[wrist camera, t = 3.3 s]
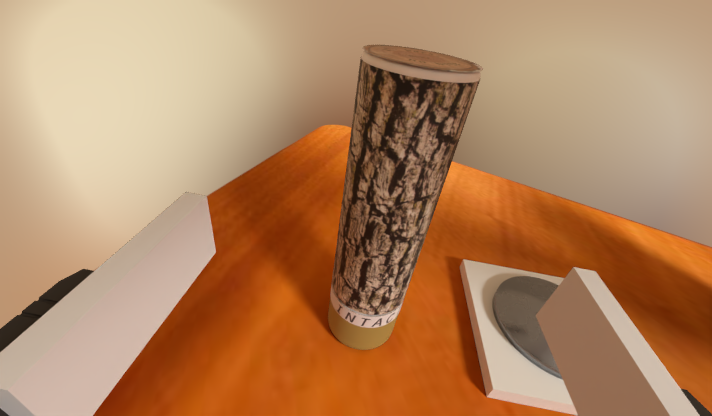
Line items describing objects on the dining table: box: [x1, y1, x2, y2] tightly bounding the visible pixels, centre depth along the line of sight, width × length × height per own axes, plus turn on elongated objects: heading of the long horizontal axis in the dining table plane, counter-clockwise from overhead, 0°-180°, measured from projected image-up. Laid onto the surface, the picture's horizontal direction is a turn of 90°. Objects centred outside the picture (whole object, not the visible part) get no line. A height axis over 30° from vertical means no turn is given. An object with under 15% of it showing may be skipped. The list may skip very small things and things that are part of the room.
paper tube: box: [328, 45, 483, 350], centre depth 24 cm, size 7×7×25 cm
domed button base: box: [460, 259, 578, 415], centre depth 32 cm, size 16×16×2 cm
